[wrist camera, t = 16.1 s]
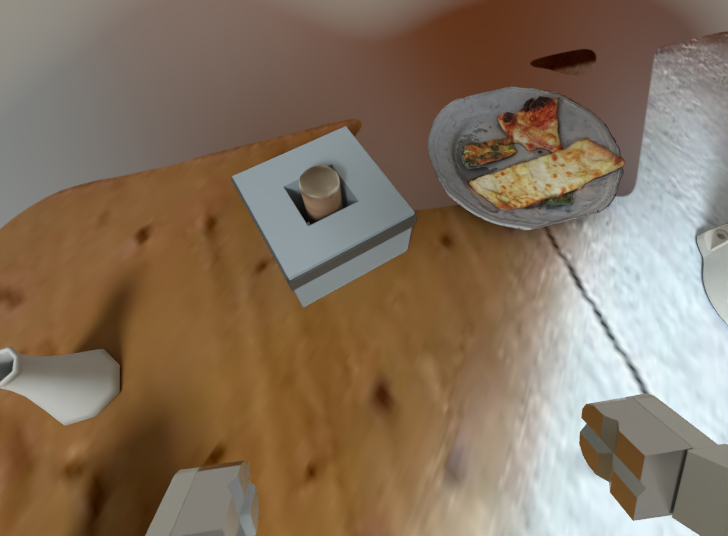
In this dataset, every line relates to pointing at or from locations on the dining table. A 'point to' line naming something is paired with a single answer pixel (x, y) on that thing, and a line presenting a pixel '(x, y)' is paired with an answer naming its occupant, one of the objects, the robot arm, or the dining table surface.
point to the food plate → (524, 157)
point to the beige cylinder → (320, 192)
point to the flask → (63, 381)
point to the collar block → (334, 233)
